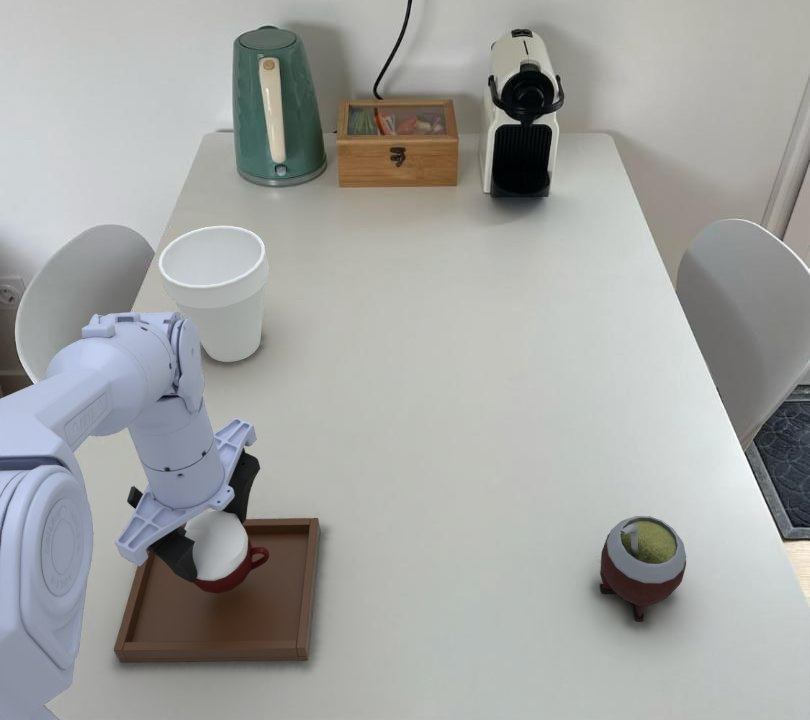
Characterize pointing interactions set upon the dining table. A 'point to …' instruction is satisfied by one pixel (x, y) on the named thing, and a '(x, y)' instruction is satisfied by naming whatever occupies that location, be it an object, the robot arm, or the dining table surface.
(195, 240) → the cup
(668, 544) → the mate gourd
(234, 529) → the cocoa
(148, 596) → the tray
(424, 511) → the dining table surface
